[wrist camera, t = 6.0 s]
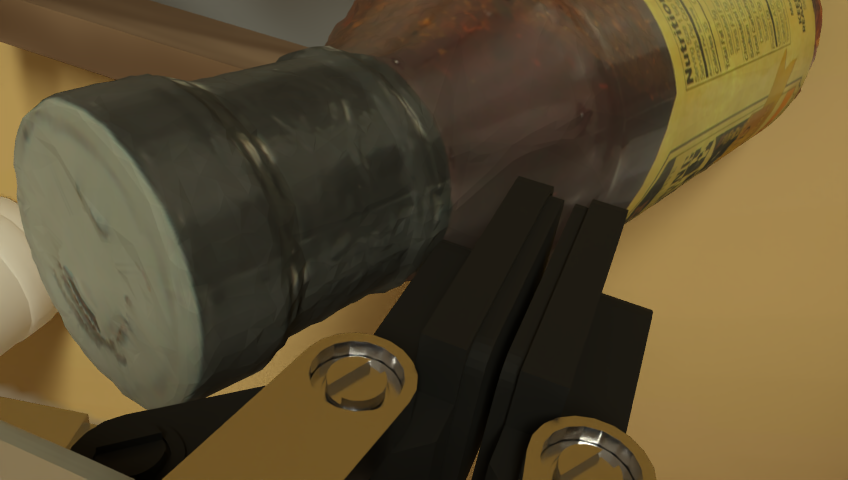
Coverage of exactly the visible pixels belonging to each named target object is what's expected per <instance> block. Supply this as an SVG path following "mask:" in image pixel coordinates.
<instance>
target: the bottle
mask: <svg viewBox="0 0 848 480" xmlns="http://www.w3.org/2000/svg"><path fill="white" fill-rule="evenodd" d="M57 312H58V310H57V309H56V308H55V306H54V305H53V303H52V301H51V299H50V297H49V295H48V293H47V290H46V288H45V286H44V284H43V282H42V280H41V278H40V275H39V272H38V269H37V267H36V264H35V262H34V261H33V259H32V254H31V249H30V247H29V244H28V242H27V239H26V237H25V233H24V229H23V225H22V222H21V216H20V211H19V207H18V203H16V202H14V201H13V200H11V199H8V198H5V197H1V196H0V356H1V355H3V354H4V353H5V352H6V351H8V350H9V349H10V348H12V347H13V346H14V345H15V344H17V343H18V342H22V341H23V340H24V339H26V338H27V337H29V336H30V335H31V334H33V333H34V332H35V331H37V330H38V329H40V328H41V327H42V326H43V325H45V324H46V323H47V322H48V321H50V320H51V319H52V318H53V317H54V315H55V314H56V313H57Z"/></svg>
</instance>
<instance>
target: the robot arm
mask: <svg viewBox="0 0 848 480" xmlns="http://www.w3.org/2000/svg"><path fill="white" fill-rule="evenodd" d="M553 192H554V186H550V185H547V184H544V183H541V182H538V181H534V180H531V179H528V178H525V177H521V176H518V178H517V179H516V180H515V182H514V184H513V185H512V187H511V189H510V190H509V192H508V193H507V195H506V197H505V198H504V200H503V201H502V203H501V205H500V206H499V208H498V209H497V211H496V213H495V214H494V216H493V218H492V219H491V221H490V222H489V224H488V226H487V227H486V229H485V230H484V232H483V234H482V235H481V237H480V239H479V240H478V242H477V243H476V245H475V247H474V248H473V249H470V248H467V247H464V246H461V245H458V244H456V243H453V242H450V241H447V240H440V242H439V243H438V244H437V245H436V246H435V248H434V249H433V251H432V252H431V253H430V255H429V256H428V258H427V259H426V261H425V262H424V263H423V265H422V266H421V268H420V269H419V271H418V272H417V273H416V275H415V276H414V278H413V279H412V281H411V282H410V283H409V285H408V286H407V288H406V289H405V291H404V292H403V293H402V295H401V296H400V298H399V299H398V301H397V302H396V303H395V305H394V306H393V308H392V309H391V311H390V312H389V313H388V315H387V316H386V318H385V319H384V321H383V322H382V323H381V325H380V326H379V328H378V329H377V331H376V332H375V333H374V335H370V334H363V333H356V332H355V333H343V334H336V335H333V336H330V337H326V338H323V339H321V340H319V341H318V342H316V343H315V344H313V345H312V346H310V347H309V348H307V349H306V350H305V351H304V352H303V353H302V354H301V355H300V356H298V357H297V358H296V359H295V360H294V361H293V362H292V363H291V364H290V365H288V366H287V367H286V368H285V369H284V370H283V371H282V372H281V373H280V374H278V375H277V376H276V377H275V378H274V379H273V380H272V381H271V382H270V383H268V384H267V385H266V386H262V387H257V388H252V389H247V390H242V391H238V392H233V393H228V394H223V395H218V396H213V397H208V398H204V399H199V400H194V401H189V402H184V403H179V404H175V405H170V406H165V407H160V408H155V409H150V410H146V411H141V412H136V413H131V414H126V415H123V416H120V417H116V418H113V419H110V420H107V421H104V422H103V423H101V424H99V425H95V424H90V422H89V417H88V414H85V413H80V412H75V411H70V410H65V409H60V408H55V407H50V406H45V405H40V404H35V403H30V402H25V401H20V400H15V399H10V398H5V397H0V480H466V478H467V476H468V474H469V471H470V469H471V467H472V464H473V462H474V460H475V457H476V455H477V453H478V450H479V448H480V450H479V454H478V457H477V461H476V465H475V469H474V472H473V476H472V480H657V479H656V475H655V470H654V467H653V465H652V463H651V462H650V460H649V458H648V456H647V455H646V453H645V451H644V450H643V449H642V448H641V447H640V446H639V445H638V444H637V443H636V442H635V441H634V440H633V439H632V438H631V437H630V436H628V435H627V434H626V431H627V427H628V422H629V418H630V413H631V409H632V404H633V400H634V395H635V391H636V387H637V382H638V378H639V373H640V369H641V364H642V360H643V355H644V351H645V346H646V342H647V337H648V333H649V329H650V324H651V320H652V314H653V311H652V310H650V309H647V308H644V307H641V306H638V305H635V304H632V303H629V302H627V301H624V300H621V299H618V298H615V297H612V296H609V295H606V294H603V293H602V290H603V287H604V284H605V281H606V278H607V275H608V272H609V269H610V266H611V263H612V260H613V257H614V254H615V251H616V248H617V244H618V241H619V238H620V235H621V232H622V229H623V226H624V223H625V220H626V217H627V214H628V211H629V210H628V209H624V208H621V207H618V206H615V205H611V204H608V203H605V202H602V201H599V200H595V199H593V200H592V202H591V204H590V206H589V208H588V207H585V206H582V205H579V204H575V206H574V208H573V210H572V212H571V215H570V217H569V219H568V221H567V223H566V226H565V228H564V230H563V232H562V235H561V237H560V239H559V241H558V243H557V246H556V248H555V250H554V252H553V254H552V257H551V259H550V261H549V263H548V265H547V262H548V259H549V255H550V252H551V249H552V245H553V242H554V238H555V235H556V231H557V228H558V224H559V221H560V217H561V214H562V210H563V206H564V202H565V200H563V199H560V198H557V197H553ZM546 266H547V268H546ZM545 269H546V270H545Z"/></svg>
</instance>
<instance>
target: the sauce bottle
mask: <svg viewBox="0 0 848 480" xmlns="http://www.w3.org/2000/svg"><path fill="white" fill-rule="evenodd" d="M821 27H822V6H821V3H820V0H355V1H354V3H353V5H352V7H351V8H350V10H349V11H348V13H347V15H346V17H345V18H344V19H343V20H341V21H340V22H338V23H337V24H336V25H335V27H334V28H333V30H332V32H331V33H330V35H329V38H328V41H327V42H326V44H325V46H315V47H309V48H305V49H302V50H298V51H295V52H291V53H288V54H285V55H283V56H281V57H279V58H278V60H277V61H276V62H275V63H270V64H266V65H261V66H257V67H252V68H248V69H244V70H240V71H234V72H229V73H224V74H220V75H217V76H214V77H209V78H201V79H197V80H194V81H185V80H181V79H176V78H171V77H166V76H160V75H151V74H143V75H138V76H127V77H124V78H121V79H118V80H115V81H111V82H104V83H97V84H93V85H89V86H85V87H81V88H77V89H72V90H68V91H64V92H60V93H56V94H54V95H51V96H49V97H47V98H45V99H43V100H42V101H41V102H40V103H39V104H38V105H37V106H36V107H35V108H33V109H32V110H31V111H30V112H29V113H28V114H26V115H25V116H24V117H23V118H22V121H21V124H20V126H19V129H18V132H17V136H16V140H15V149H14V168H15V172H16V178H17V201H18V207H19V211H20V216H21V222H22V225H23V229H24V233H25V237H26V239H27V242H28V244H29V247H30V249H31V254H32V259H33V261H34V262H35V264H36V267H37V269H38V272H39V275H40V278H41V280H42V282H43V284H44V286H45V288H46V290H47V293H48V295H49V297H50V299H51V301H52V303H53V305H54V306H55V308H56V309H57V310H58V312H59V313H60V315H61V317H62V320H63V322H64V325H65V327H66V329H67V330H68V332H69V333H70V335H71V336H72V338H73V339H74V340H75V341H76V342H77V344H78V345H79V346H80V347H81V349H82V351H83V352H84V354H85V355H86V356H87V357H88V358H89V360H90V361H91V362H92V363H93V364H94V365H95V366H96V367H97V369H98V370H99V371H100V372H101V373H103V374H104V375H105V376H106V377H107V378H109V379H110V380H111V381H112V382H113V383H114V384H115V385H116V386H117V387H118V389H119V390H120V391H121V392H122V394H123V395H125V396H126V397H128V398H130V399H131V400H133V401H135V402H136V403H138V404H139V405H141V406H142V407H143V408H145V409H147V410H150V409H155V408H160V407H165V406H170V405H175V404H179V403H184V402H189V401H194V400H199V399H204V398H206V397H208V396H210V395H212V394H214V393H216V392H218V391H220V390H222V389H224V388H226V387H228V386H230V385H232V384H234V383H236V382H238V381H240V380H242V379H245V378H247V377H249V376H251V375H253V374H255V373H257V372H259V371H260V370H262V369H263V368H264V367H265V366H266V365H267V364H268V363H269V362H270V361H271V359H272V358H273V357H274V355H275V354H276V352H277V351H278V350H280V349H281V348H282V347H283V346H284V345H285V343H286V341H287V339H288V337H290V336H292V335H294V334H296V333H298V332H300V331H301V330H303V329H305V328H307V327H308V326H310V325H312V324H315V323H318V322H321V321H323V320H325V319H326V318H328V317H329V316H331V315H332V314H334V313H335V312H337V311H338V310H340V309H342V308H344V307H346V306H347V305H349V304H351V303H354V302H356V301H358V300H360V299H361V298H363V297H364V296H366V295H368V294H374V293H385V292H387V291H389V290H391V289H393V288H396V287H398V286H401V285H402V284H403V283H404V282H405V281H412V279H413V278H414V276H415V275H416V273H417V272H418V271H419V269H420V268H421V266H422V265H423V263H424V262H425V261H426V259H427V258H428V256H429V255H430V253H431V252H432V251H433V249H434V248H435V246H436V245H437V244H438V243H439V242H440V240H447V241H450V242H453V243H456V244H458V245H461V246H464V247H467V248H470V249H473V248H474V247H475V245H476V243H477V242H478V240H479V239H480V237H481V235H482V234H483V232H484V230H485V229H486V227H487V226H488V224H489V222H490V221H491V219H492V218H493V216H494V214H495V213H496V211H497V209H498V208H499V206H500V205H501V203H502V201H503V200H504V198H505V197H506V195H507V193H508V192H509V190H510V189H511V187H512V185H513V184H514V182H515V180H516V179H517V178H518V176H521V177H525V178H528V179H531V180H534V181H538V182H541V183H544V184H547V185H550V186H554V192H553V197H557V198H560V199H563V200H565V202H564V206H563V210H562V214H561V217H560V221H559V224H558V228H557V231H556V235H555V238H554V242H553V245H552V249H551V252H550V255H549V259H548V262H547V265H548V263H549V261H550V259H551V257H552V254H553V252H554V250H555V248H556V246H557V243H558V241H559V239H560V237H561V235H562V232H563V230H564V228H565V226H566V223H567V221H568V219H569V217H570V215H571V212H572V210H573V208H574V206H575V204H579V205H582V206H585V207H588V208H589V206H590V204H591V202H592V200H593V199H595V200H599V201H602V202H605V203H608V204H611V205H615V206H618V207H621V208H624V209H628V210H629V211H628V214H627V217H626V220H625V223H624V224H626V223H627V222H629V221H630V220H632V219H633V218H634V217H636V216H637V215H639V214H640V213H642V212H643V211H645V210H646V209H648V208H649V207H651V206H653V205H654V204H656V203H657V202H659V201H660V200H661V199H663V198H664V197H666V196H667V195H669V194H670V193H672V192H673V191H675V190H676V189H677V188H678V187H680V186H681V185H683V184H684V183H686V182H687V181H688V180H690V179H691V178H693V177H694V176H696V175H698V174H699V173H701V172H703V171H704V170H706V169H707V168H708V167H709V166H710V165H712V164H713V163H715V162H716V161H718V160H719V159H721V158H722V157H724V156H725V155H727V154H728V153H730V152H731V151H733V150H734V149H735V148H737V147H738V146H740V145H741V144H743V143H744V142H746V141H747V140H749V139H750V138H752V137H753V136H755V135H756V134H758V133H759V132H761V131H762V130H763V129H765V128H766V127H767V126H769V125H770V124H771V123H772V122H773V121H775V120H776V119H777V118H778V117H779V116H780V115H781V114H782V113H783V112H784V111H785V109H786V108H787V107H788V106H789V105H790V103H791V102H792V101H793V100H794V99H795V98H796V96H797V95H798V94H799V92H800V91H801V87H802V85H803V83H804V81H805V79H806V77H807V74H808V72H809V70H810V67H811V65H812V63H813V62H814V60H815V56H816V52H817V47H818V45H819V38H820V32H821ZM546 268H547V266H546ZM545 270H546V269H545Z"/></svg>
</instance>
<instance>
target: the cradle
mask: <svg viewBox="0 0 848 480" xmlns="http://www.w3.org/2000/svg"><path fill="white" fill-rule="evenodd" d="M354 1H355V0H0V42H3V43H6V44H9V45H12V46H15V47H18V48H21V49H24V50H27V51H30V52H34V53H37V54H40V55H43V56H46V57H49V58H52V59H55V60H58V61H61V62H64V63H67V64H70V65H73V66H76V67H79V68H82V69H85V70H88V71H91V72H94V73H97V74H100V75H103V76H106V77H110V78H113V79H116V80H118V79H121V78H124V77H127V76H138V75H143V74H151V75H160V76H166V77H171V78H176V79H181V80H185V81H194V80H197V79H201V78H209V77H214V76H217V75H220V74H224V73H229V72H234V71H240V70H244V69H248V68H252V67H257V66H261V65H266V64H270V63H275V62H276V61H277V60H278V58H279V57H281V56H283V55H285V54H288V53H291V52H295V51H298V50H302V49H305V48H309V47H315V46H325V44H326V42H327V41H328V38H329V35H330V33H331V32H332V30H333V28H334V27H335V25H336V24H337V23H338V22H340V21H341V20H343V19H344V18H345V17H346V15H347V13H348V11H349V10H350V8H351V7H352V5H353V3H354Z"/></svg>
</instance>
